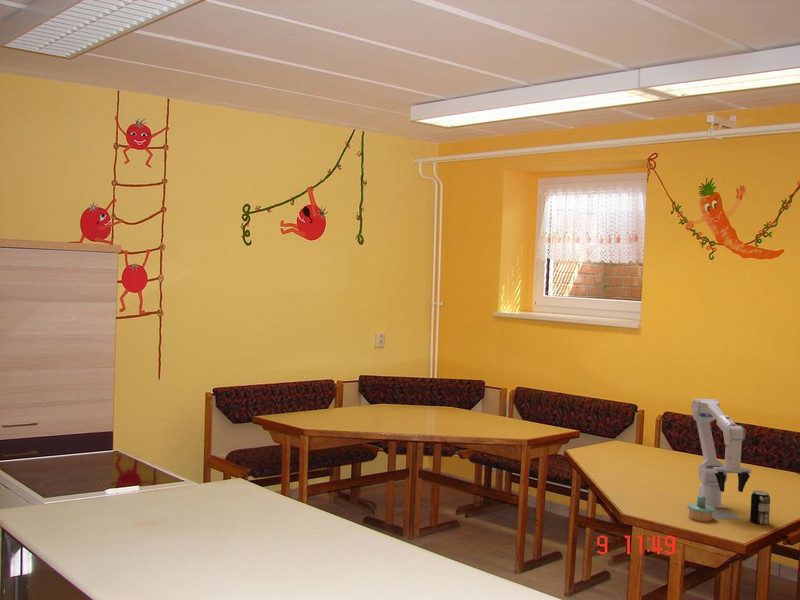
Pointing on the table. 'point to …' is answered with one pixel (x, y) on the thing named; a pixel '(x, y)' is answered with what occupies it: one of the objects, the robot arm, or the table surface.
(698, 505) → the lid
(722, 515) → the mat
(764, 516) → the beverage can
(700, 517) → the bowl
